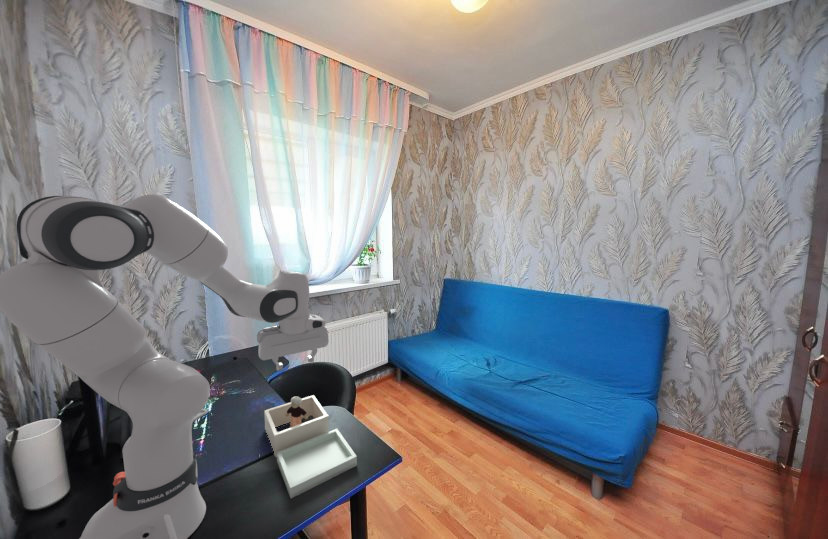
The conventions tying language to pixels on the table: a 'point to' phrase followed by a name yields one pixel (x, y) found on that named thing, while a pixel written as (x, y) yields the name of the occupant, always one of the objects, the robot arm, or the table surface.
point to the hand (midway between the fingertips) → (295, 365)
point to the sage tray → (315, 461)
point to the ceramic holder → (298, 432)
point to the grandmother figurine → (296, 412)
